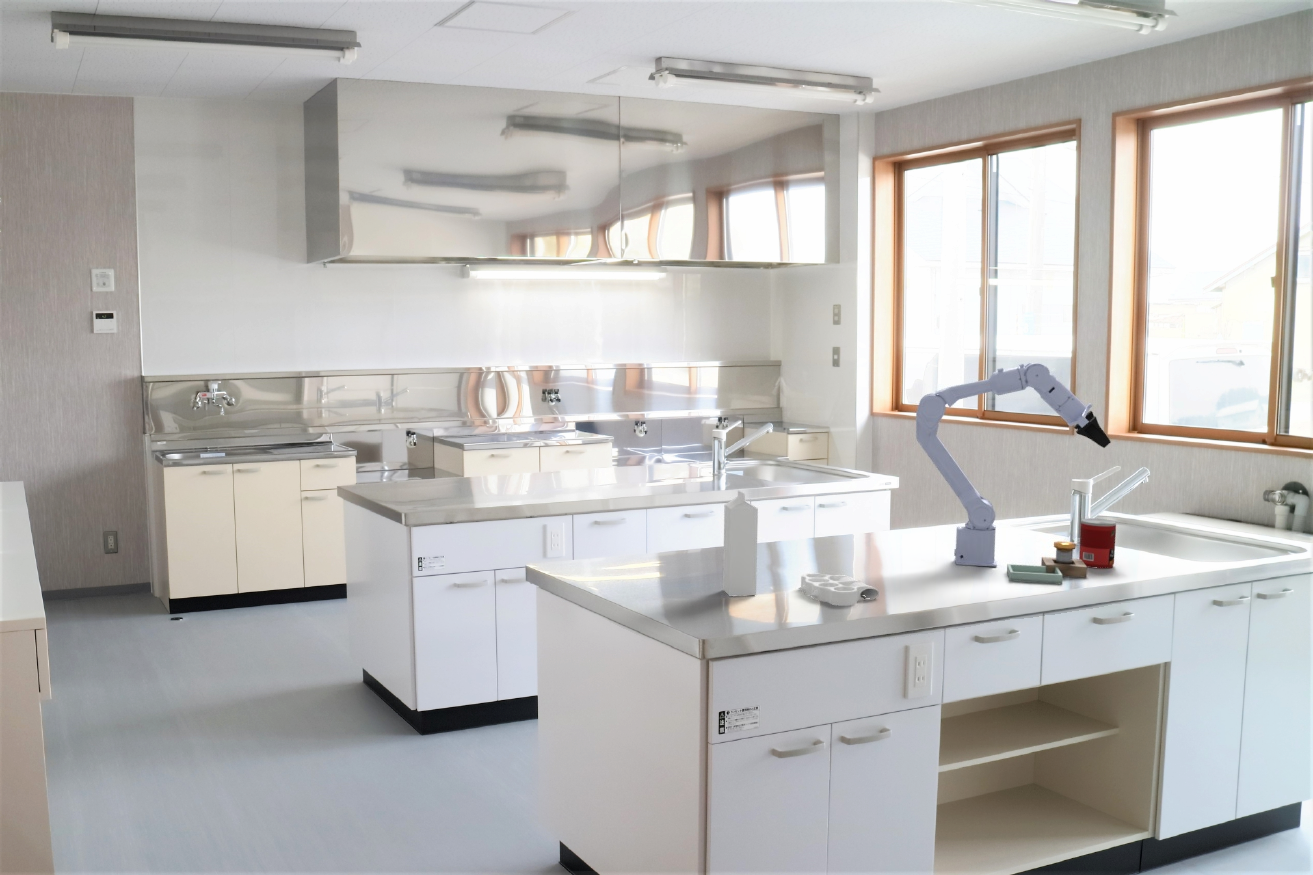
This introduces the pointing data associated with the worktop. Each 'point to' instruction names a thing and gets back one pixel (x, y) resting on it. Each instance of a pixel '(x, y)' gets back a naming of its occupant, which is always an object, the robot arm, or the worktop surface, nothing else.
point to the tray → (1033, 574)
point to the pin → (1064, 552)
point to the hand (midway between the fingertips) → (1105, 442)
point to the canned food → (1097, 542)
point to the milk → (740, 547)
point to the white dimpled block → (836, 589)
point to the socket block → (1066, 567)
